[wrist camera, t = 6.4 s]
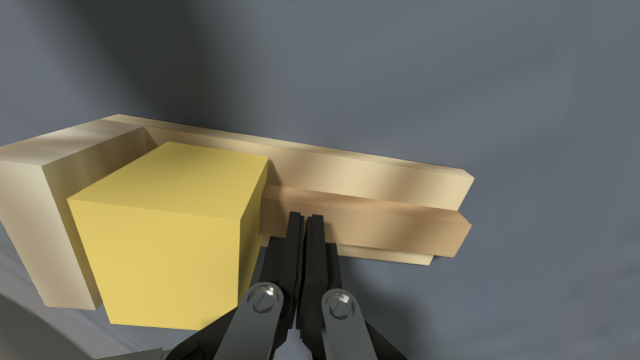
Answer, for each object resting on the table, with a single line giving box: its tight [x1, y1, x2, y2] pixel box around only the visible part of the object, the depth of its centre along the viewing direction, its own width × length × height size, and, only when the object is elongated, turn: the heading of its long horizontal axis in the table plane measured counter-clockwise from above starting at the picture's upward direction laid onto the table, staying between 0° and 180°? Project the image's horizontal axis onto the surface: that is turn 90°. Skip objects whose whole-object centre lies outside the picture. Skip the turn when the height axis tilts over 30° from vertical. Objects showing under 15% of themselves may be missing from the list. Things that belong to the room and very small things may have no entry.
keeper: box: [67, 141, 269, 330], centre depth 11 cm, size 5×6×6 cm
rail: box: [0, 114, 474, 310], centre depth 12 cm, size 20×7×6 cm, turn 80°
